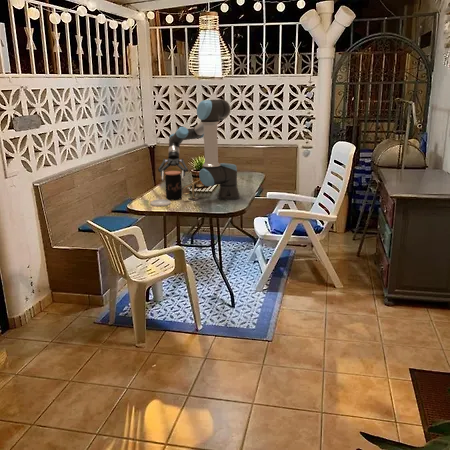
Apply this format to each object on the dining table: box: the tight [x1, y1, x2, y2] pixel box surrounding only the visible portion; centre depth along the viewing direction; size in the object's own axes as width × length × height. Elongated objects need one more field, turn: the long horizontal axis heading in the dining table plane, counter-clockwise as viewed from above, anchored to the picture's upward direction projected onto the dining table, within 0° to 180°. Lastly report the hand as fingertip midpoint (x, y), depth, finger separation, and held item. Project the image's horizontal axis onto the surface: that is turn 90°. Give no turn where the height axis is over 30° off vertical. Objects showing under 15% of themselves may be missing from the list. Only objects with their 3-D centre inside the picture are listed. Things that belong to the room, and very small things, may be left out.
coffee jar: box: [164, 170, 183, 201], centre depth 321 cm, size 11×11×18 cm
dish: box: [149, 198, 172, 208], centre depth 310 cm, size 13×13×2 cm
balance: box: [182, 178, 205, 202], centre depth 318 cm, size 6×17×13 cm, turn 133°
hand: (172, 179), depth 323 cm, fingers open, 13 cm apart
